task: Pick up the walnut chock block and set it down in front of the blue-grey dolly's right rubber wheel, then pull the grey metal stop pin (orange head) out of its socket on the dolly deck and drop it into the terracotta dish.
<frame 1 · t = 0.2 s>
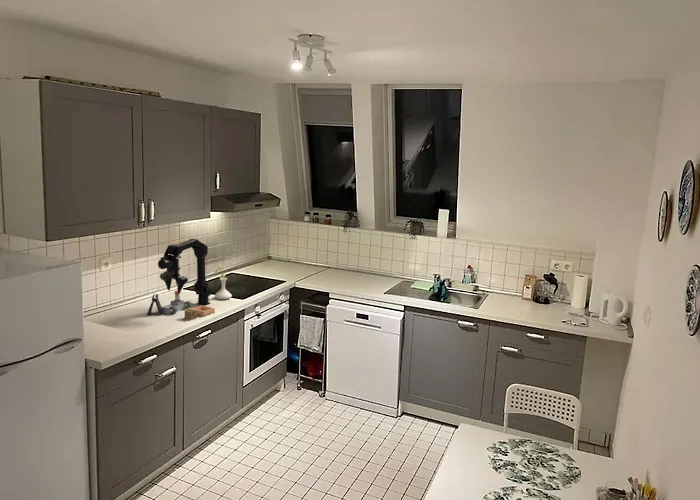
hand: (173, 291, 327), 14 cm above the countertop, fingers open, 9 cm apart
pin: (177, 304, 340), point 3 cm above the countertop, touching dolly
flower in vase: (222, 298, 370), on the countertop
dolly: (176, 310, 338), on the countertop
chock: (190, 318, 325), on the countertop
phone stand: (155, 314, 330), on the countertop, touching dolly
dish: (202, 313, 336), on the countertop
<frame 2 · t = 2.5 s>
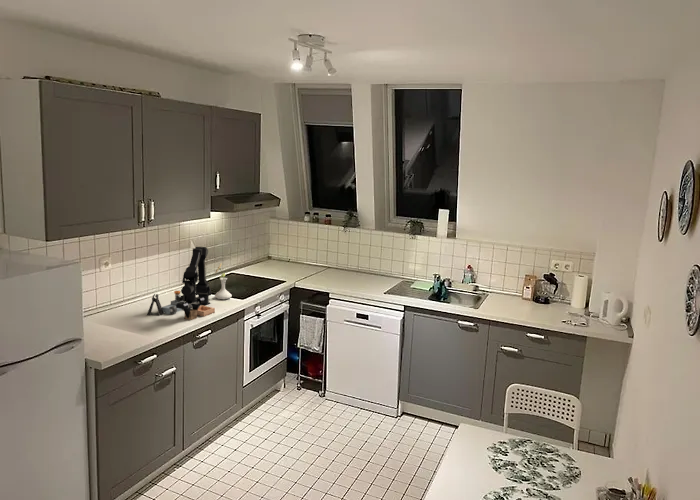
hand: (190, 316, 324), 1 cm above the countertop, fingers closed on chock, 5 cm apart
chock: (190, 318, 325), on the countertop, touching gripper
everything else where it was.
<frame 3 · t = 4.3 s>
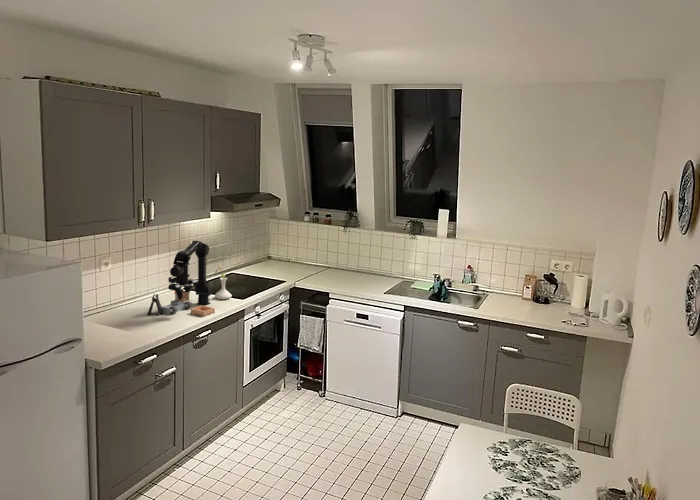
hand: (183, 298, 326), 11 cm above the countertop, fingers closed on chock, 5 cm apart
chock: (183, 300, 327), point 10 cm above the countertop, touching gripper
everything else where it was.
when the fingers open (2 cm above the countertop, at t = 6.2 s): chock drops 2 cm, on the countertop.
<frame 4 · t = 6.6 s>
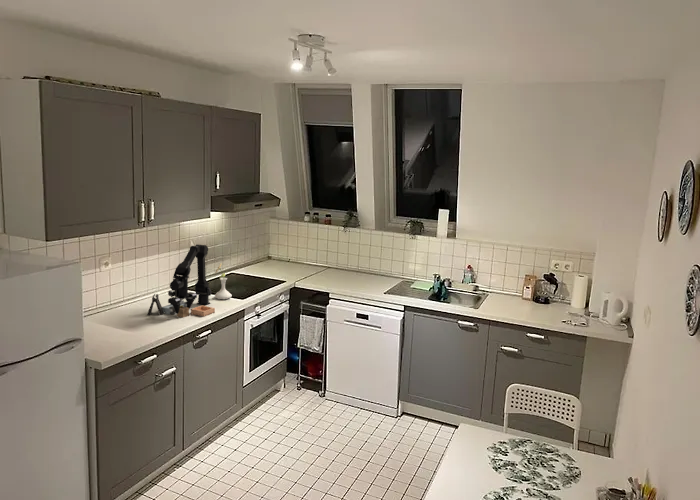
hand: (182, 311, 328), 2 cm above the countertop, fingers open, 9 cm apart
chock: (182, 316, 328), on the countertop
everything else where it was.
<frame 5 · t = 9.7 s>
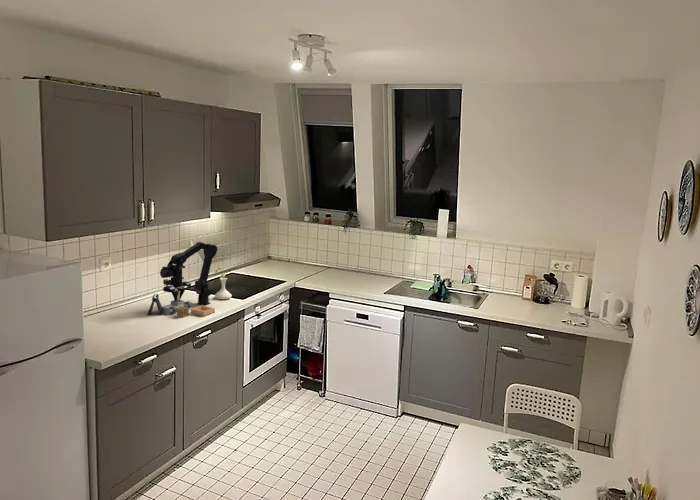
hand: (177, 300, 339), 6 cm above the countertop, fingers closed on pin, 3 cm apart
pin: (177, 304, 340), point 3 cm above the countertop, touching dolly, gripper
everything else where it was.
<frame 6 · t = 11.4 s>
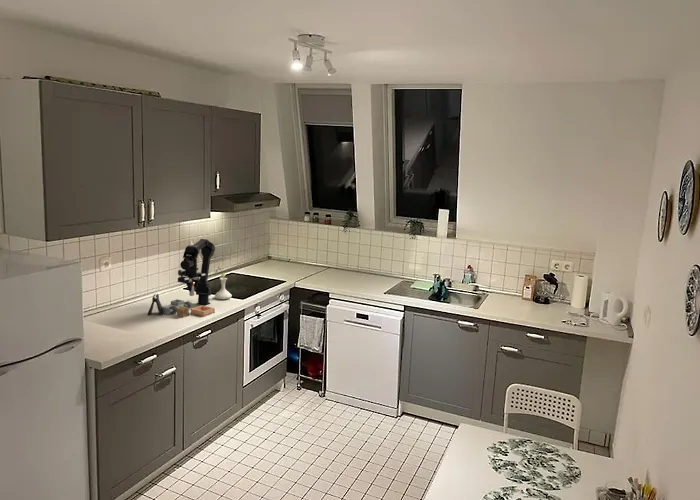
hand: (191, 291, 335), 13 cm above the countertop, fingers closed on pin, 3 cm apart
pin: (191, 295, 336), point 10 cm above the countertop, touching gripper
everything else where it was.
when the fingers open (5 cm above the countertop, at t = 13.3 s): pin drops 2 cm, resting on dish.
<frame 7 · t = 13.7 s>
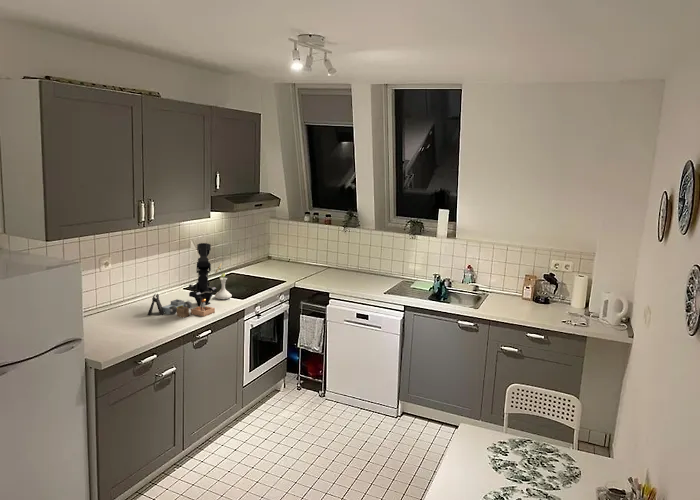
hand: (202, 305, 335), 5 cm above the countertop, fingers open, 7 cm apart
pin: (202, 311, 336), point 1 cm above the countertop, touching dish
everything else where it was.
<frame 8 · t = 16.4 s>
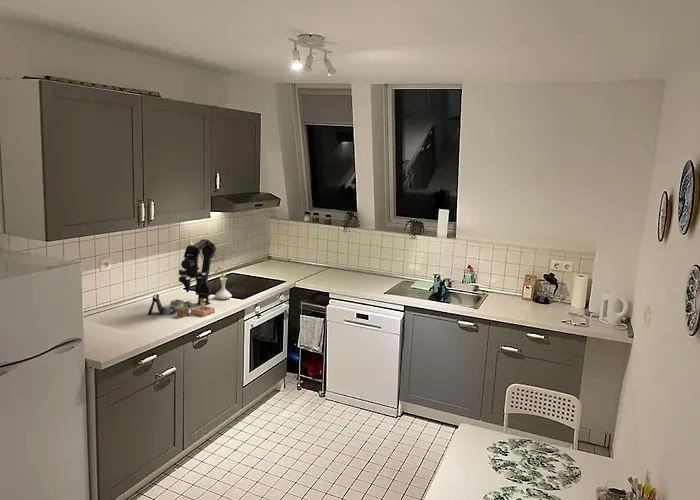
hand: (192, 290, 337), 13 cm above the countertop, fingers open, 9 cm apart
nothing on the countertop moved.
at the end: chock inside the target area (0.3 cm from its centre), on the countertop; chock tilted 0°; pin inside the target area on the dish (0.0 cm from its centre), point 0.8 cm above the dish's base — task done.
